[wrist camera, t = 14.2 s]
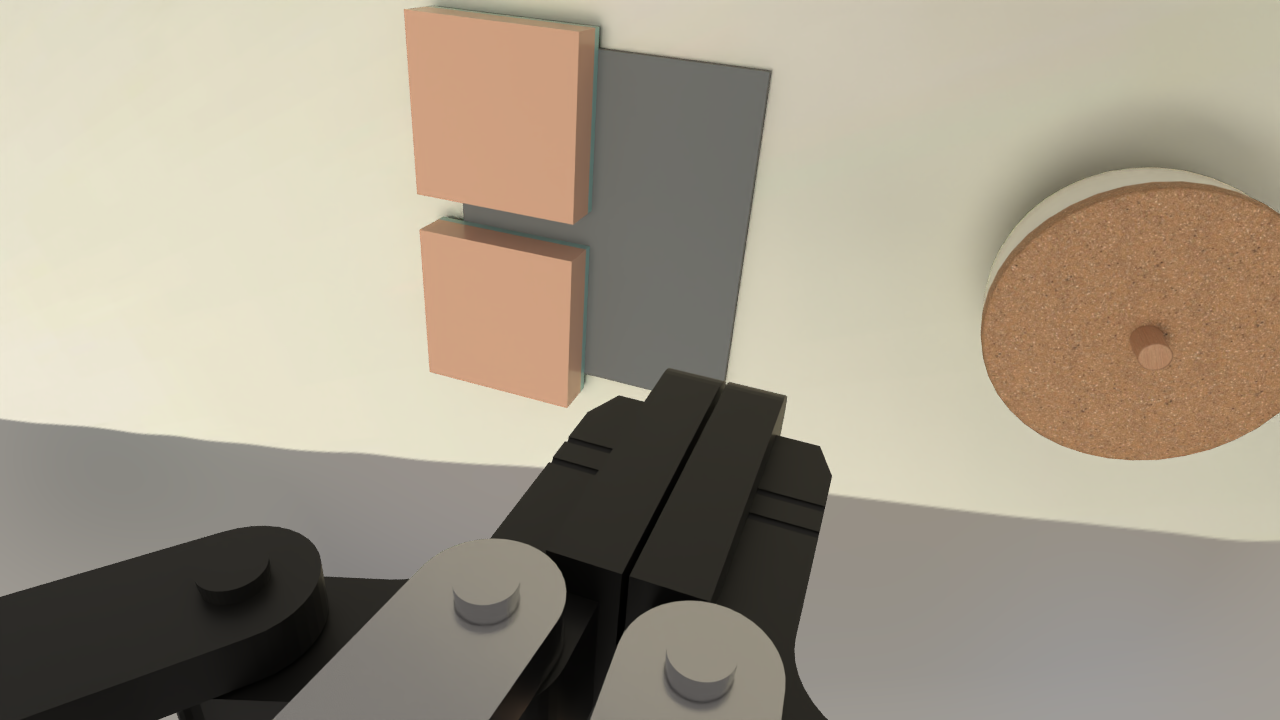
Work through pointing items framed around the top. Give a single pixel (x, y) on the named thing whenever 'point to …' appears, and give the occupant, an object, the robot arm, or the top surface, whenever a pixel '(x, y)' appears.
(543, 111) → the tile
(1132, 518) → the top surface
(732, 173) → the mat
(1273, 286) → the lidded jar
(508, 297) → the tile
